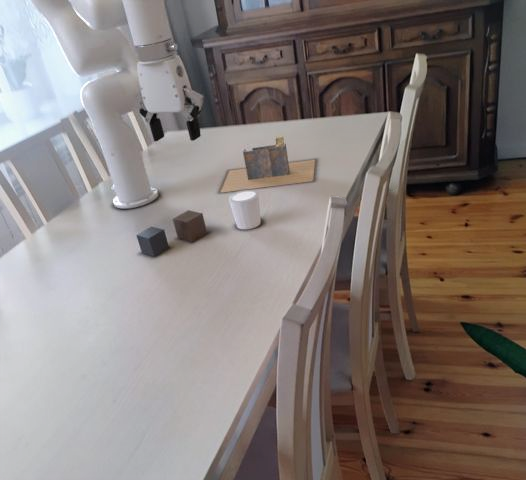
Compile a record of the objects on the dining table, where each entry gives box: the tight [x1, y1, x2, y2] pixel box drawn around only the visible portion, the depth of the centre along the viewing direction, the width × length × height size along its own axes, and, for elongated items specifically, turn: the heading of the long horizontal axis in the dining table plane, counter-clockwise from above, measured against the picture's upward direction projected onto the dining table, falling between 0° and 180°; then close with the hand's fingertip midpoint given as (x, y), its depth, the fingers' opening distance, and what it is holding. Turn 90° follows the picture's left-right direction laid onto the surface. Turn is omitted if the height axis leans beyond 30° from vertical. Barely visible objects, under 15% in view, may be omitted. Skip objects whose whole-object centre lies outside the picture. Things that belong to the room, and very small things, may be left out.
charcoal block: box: [135, 226, 170, 258], centre depth 129 cm, size 5×5×5 cm
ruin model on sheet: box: [220, 135, 316, 193], centre depth 154 cm, size 25×16×10 cm, turn 84°
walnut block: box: [172, 209, 208, 243], centre depth 132 cm, size 5×5×5 cm
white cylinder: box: [228, 189, 262, 231], centre depth 131 cm, size 7×7×7 cm
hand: (177, 138), depth 123 cm, fingers open, 9 cm apart
